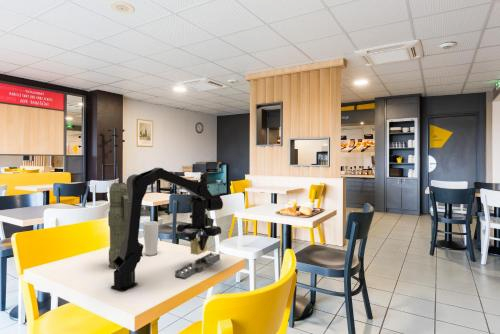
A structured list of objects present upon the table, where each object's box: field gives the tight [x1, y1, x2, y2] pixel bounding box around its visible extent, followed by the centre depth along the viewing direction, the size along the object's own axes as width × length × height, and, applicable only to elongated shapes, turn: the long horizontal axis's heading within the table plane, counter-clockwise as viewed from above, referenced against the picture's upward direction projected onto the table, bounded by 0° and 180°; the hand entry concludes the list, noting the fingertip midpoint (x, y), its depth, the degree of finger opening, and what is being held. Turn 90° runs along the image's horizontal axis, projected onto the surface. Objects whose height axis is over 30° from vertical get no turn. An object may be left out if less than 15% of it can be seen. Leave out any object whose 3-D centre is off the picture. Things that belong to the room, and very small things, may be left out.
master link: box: [190, 236, 208, 256], centre depth 127 cm, size 6×4×6 cm, turn 154°
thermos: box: [107, 182, 129, 270], centre depth 130 cm, size 9×12×35 cm
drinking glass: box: [143, 220, 159, 256], centre depth 145 cm, size 7×7×15 cm
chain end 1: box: [174, 262, 204, 280], centre depth 121 cm, size 11×7×2 cm, turn 154°
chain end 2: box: [194, 252, 221, 268], centre depth 133 cm, size 11×7×2 cm, turn 154°
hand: (198, 249), depth 127 cm, fingers closed on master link, 3 cm apart
